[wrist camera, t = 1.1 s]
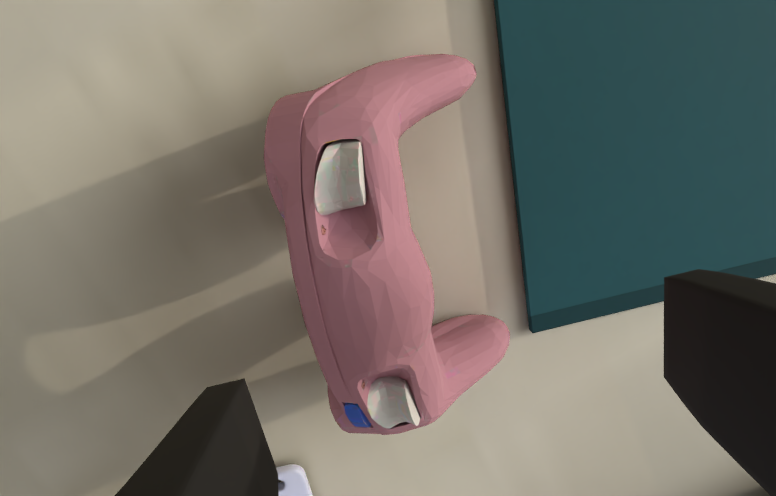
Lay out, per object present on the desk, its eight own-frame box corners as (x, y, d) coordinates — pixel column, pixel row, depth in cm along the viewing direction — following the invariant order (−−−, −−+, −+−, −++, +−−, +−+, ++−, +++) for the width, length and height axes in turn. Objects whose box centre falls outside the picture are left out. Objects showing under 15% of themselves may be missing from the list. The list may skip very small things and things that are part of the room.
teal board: (528, 329, 19) (532, 333, 19) (474, -179, 13) (478, -185, 13) (815, 259, 20) (823, 262, 19) (876, -255, 14) (888, -262, 14)
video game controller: (332, 66, 16) (186, 110, 10) (479, 37, 15) (406, 70, 9) (393, 337, 20) (311, 485, 14) (516, 339, 18) (482, 508, 12)
